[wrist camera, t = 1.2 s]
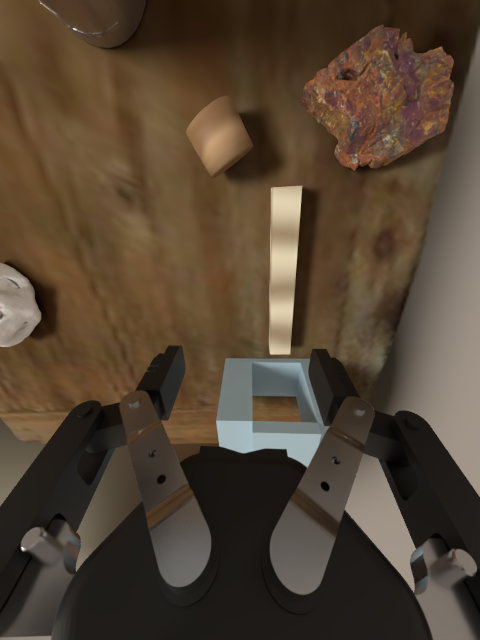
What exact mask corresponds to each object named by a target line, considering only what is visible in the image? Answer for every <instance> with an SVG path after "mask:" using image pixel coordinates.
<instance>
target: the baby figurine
mask: <svg viewBox="0 0 480 640" xmlns="http://www.w3.org/2000/svg"><path fill="white" fill-rule="evenodd" d="M40 320H41V312H40V310H39V309H38V305H37V304H36V301H35V291H34V288H33V286H32V285H31V283H30V282H29V280H28V278H26V277H24V276H23V275H22V274H21V273H19V272H17V270H15V269H14V268H12V267H10V266H8V265H6V264H2V263H0V346H2V347H10V346H13V345H16V344H18V343H20V342H22V341H23V340H24V338H26V337H27V336H29V335H30V334H31V332H32V331H33V329H34V328H35V326H36V325H37V324H38V323H39V322H40Z"/></svg>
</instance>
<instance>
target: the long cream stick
mask: <svg viewBox="0 0 480 640" xmlns="http://www.w3.org/2000/svg"><path fill="white" fill-rule="evenodd" d="M301 196H302V186H290V187H275V188H271V234H270V310H269V348H270V354H290V347H291V333H292V319H293V306H294V292H295V278H296V265H297V251H298V237H299V224H300V210H301Z"/></svg>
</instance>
